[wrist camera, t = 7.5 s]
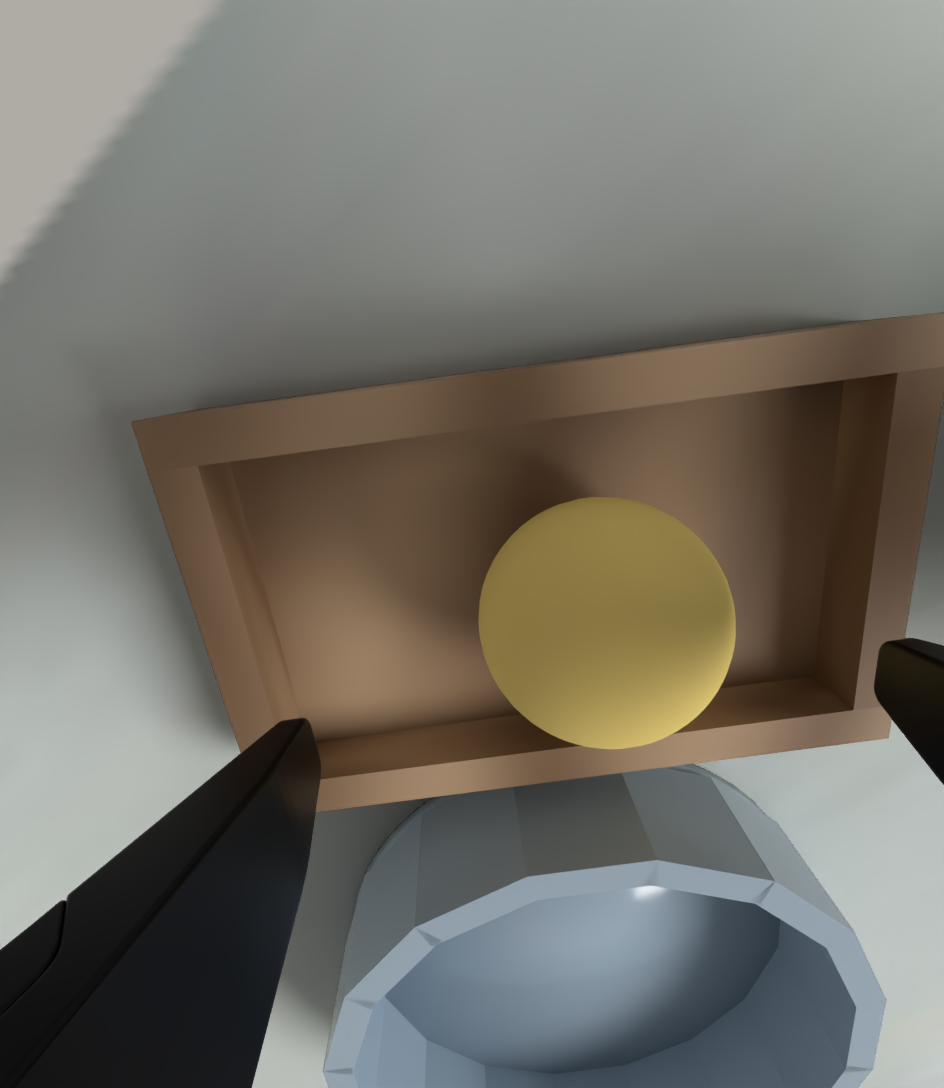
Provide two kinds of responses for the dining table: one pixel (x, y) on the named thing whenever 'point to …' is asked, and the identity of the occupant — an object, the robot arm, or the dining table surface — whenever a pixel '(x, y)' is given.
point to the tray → (525, 491)
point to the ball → (607, 622)
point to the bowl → (600, 947)
